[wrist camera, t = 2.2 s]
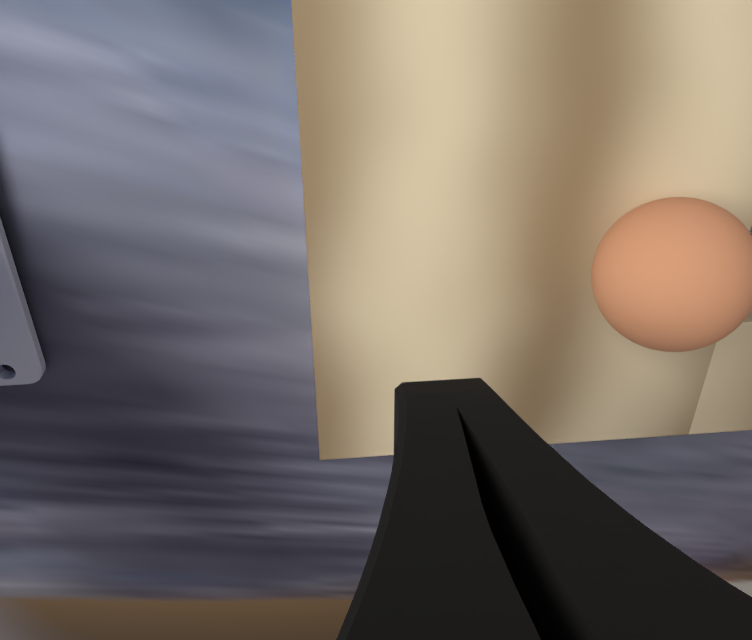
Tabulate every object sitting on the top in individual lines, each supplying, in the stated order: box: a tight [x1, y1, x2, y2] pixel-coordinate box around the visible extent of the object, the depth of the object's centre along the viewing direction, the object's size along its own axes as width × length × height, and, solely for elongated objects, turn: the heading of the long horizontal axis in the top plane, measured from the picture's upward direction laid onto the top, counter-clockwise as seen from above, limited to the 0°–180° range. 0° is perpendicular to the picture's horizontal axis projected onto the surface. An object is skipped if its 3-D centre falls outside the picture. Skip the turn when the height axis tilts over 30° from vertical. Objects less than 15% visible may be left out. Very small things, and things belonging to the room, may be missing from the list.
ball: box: [591, 197, 752, 352], centre depth 15 cm, size 4×4×4 cm
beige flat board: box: [291, 0, 752, 460], centre depth 18 cm, size 18×13×2 cm
